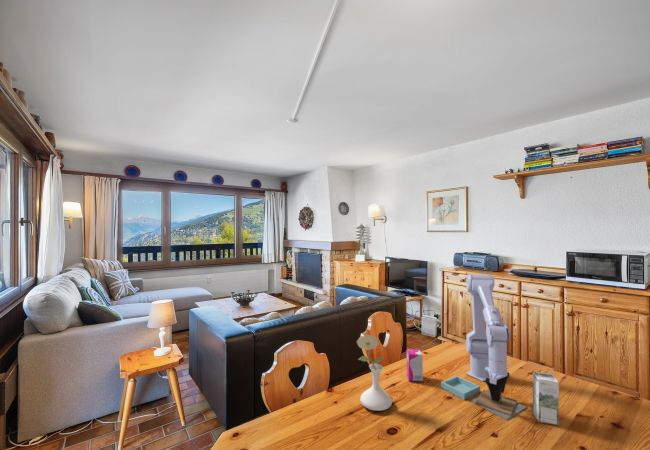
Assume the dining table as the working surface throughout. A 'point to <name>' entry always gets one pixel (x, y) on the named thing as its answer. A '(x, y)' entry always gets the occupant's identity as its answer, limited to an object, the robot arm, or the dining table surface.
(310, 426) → the dining table surface
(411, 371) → the supplement box
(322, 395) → the dining table surface
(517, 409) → the mat
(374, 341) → the flower in vase
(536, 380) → the syrup box
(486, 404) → the lid
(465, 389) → the dish
